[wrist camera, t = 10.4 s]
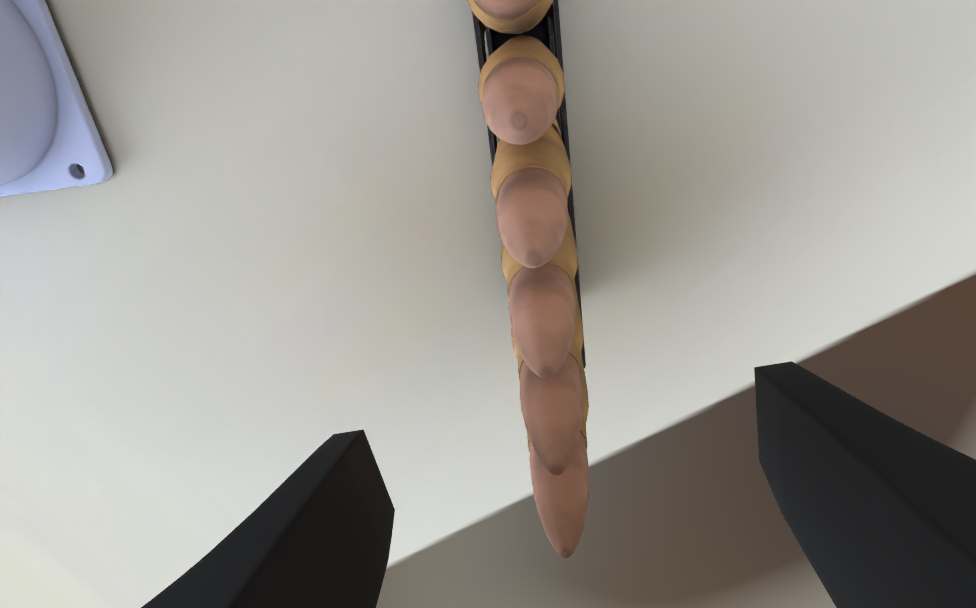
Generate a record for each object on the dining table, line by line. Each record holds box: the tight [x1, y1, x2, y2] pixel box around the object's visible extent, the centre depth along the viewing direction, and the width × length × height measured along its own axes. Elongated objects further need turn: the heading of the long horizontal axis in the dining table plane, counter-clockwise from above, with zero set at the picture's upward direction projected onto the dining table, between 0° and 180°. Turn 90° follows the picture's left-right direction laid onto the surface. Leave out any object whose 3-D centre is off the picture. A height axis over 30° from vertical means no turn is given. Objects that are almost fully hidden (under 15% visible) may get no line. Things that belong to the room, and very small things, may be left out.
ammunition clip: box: [468, 0, 589, 558], centre depth 13 cm, size 11×2×12 cm, turn 8°
